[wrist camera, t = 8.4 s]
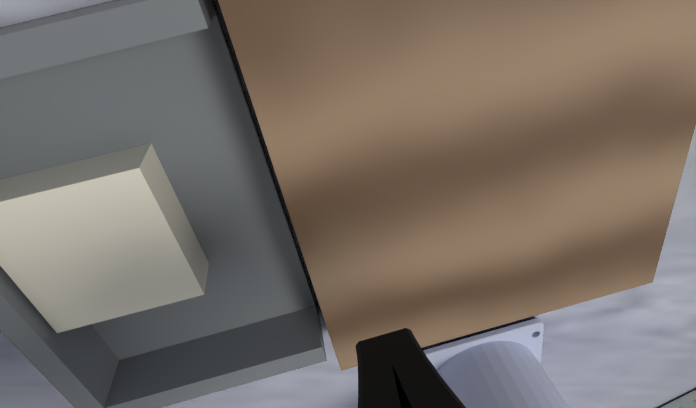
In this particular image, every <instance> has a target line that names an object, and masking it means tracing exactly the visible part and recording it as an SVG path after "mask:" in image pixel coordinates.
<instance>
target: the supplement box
mask: <svg viewBox="0 0 696 408" xmlns="http://www.w3.org/2000/svg"><path fill="white" fill-rule="evenodd" d="M660 408H696V390H694V391H692V392H690V393H688V394H686V395H684V396H682V397H680V398H678V399H676V400H674V401H672V402H670V403H668V404H666V405H664V406H662V407H660Z"/></svg>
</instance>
